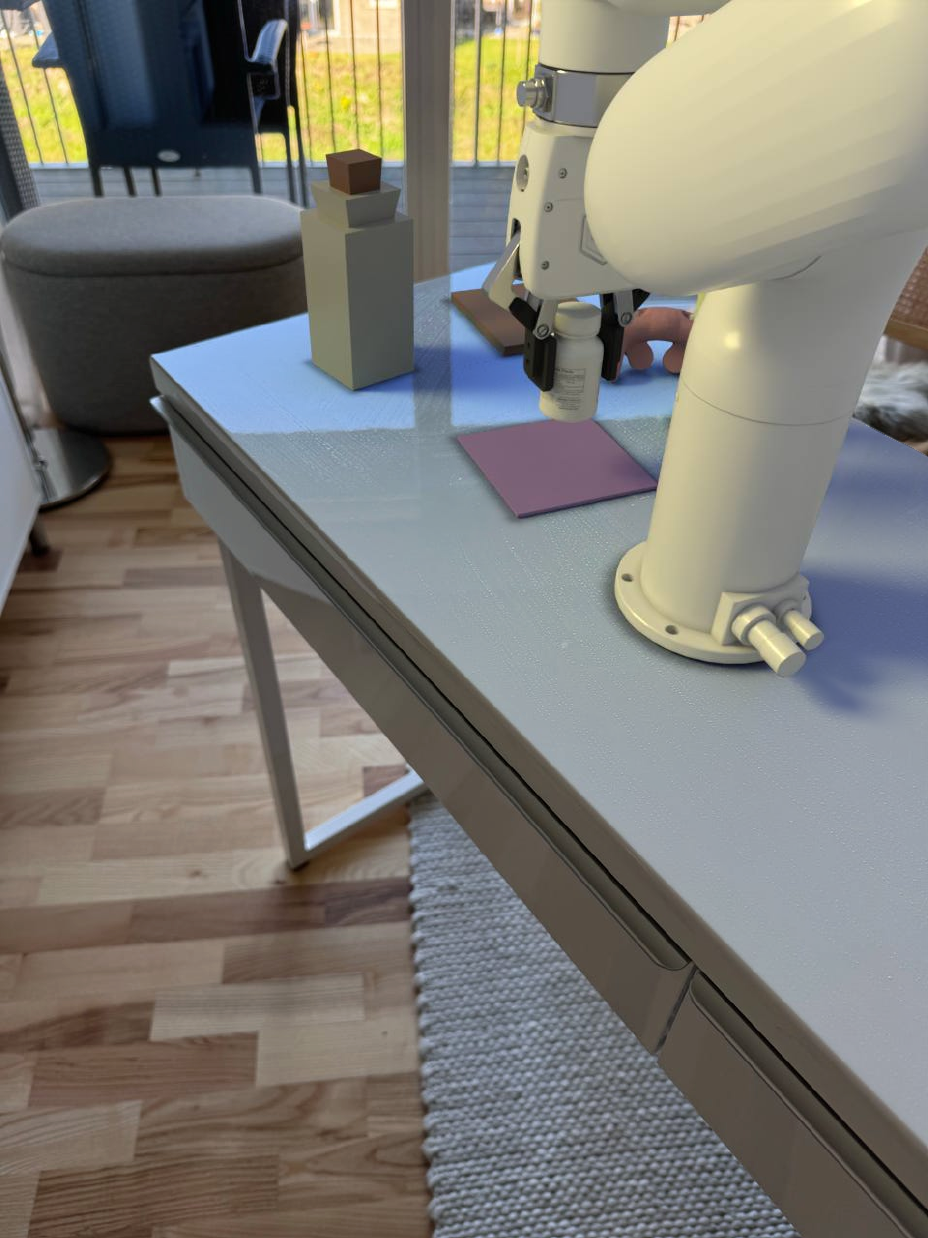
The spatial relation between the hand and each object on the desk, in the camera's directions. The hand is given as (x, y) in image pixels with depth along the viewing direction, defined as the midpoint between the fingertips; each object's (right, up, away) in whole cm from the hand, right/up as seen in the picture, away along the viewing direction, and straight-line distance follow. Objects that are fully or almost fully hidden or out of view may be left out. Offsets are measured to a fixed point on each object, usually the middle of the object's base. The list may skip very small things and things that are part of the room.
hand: (570, 376), depth 68 cm
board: (-1, +13, +27) cm, 30 cm away
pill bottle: (0, -2, +2) cm, 3 cm away
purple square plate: (-1, -5, +6) cm, 8 cm away
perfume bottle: (-17, +5, +18) cm, 25 cm away
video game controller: (+10, +5, +18) cm, 21 cm away
